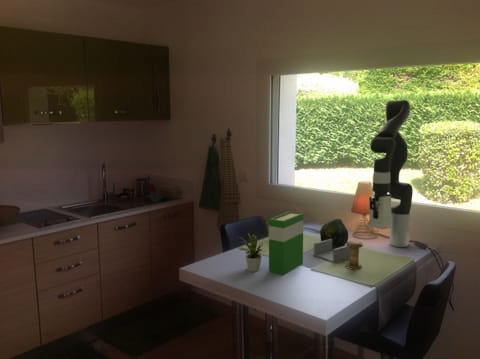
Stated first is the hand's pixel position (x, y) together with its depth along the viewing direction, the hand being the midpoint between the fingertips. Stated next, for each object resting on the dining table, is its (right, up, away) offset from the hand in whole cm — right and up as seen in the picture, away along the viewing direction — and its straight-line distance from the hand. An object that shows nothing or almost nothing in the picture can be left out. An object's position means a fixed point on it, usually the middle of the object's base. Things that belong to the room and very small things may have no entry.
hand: (379, 217), depth 198 cm
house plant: (-59, -23, -4) cm, 64 cm away
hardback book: (-44, -23, -3) cm, 49 cm away
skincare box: (0, -5, +1) cm, 5 cm away
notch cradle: (-19, -20, +11) cm, 30 cm away
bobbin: (-13, -22, -2) cm, 26 cm away
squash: (-15, -18, +30) cm, 37 cm away
